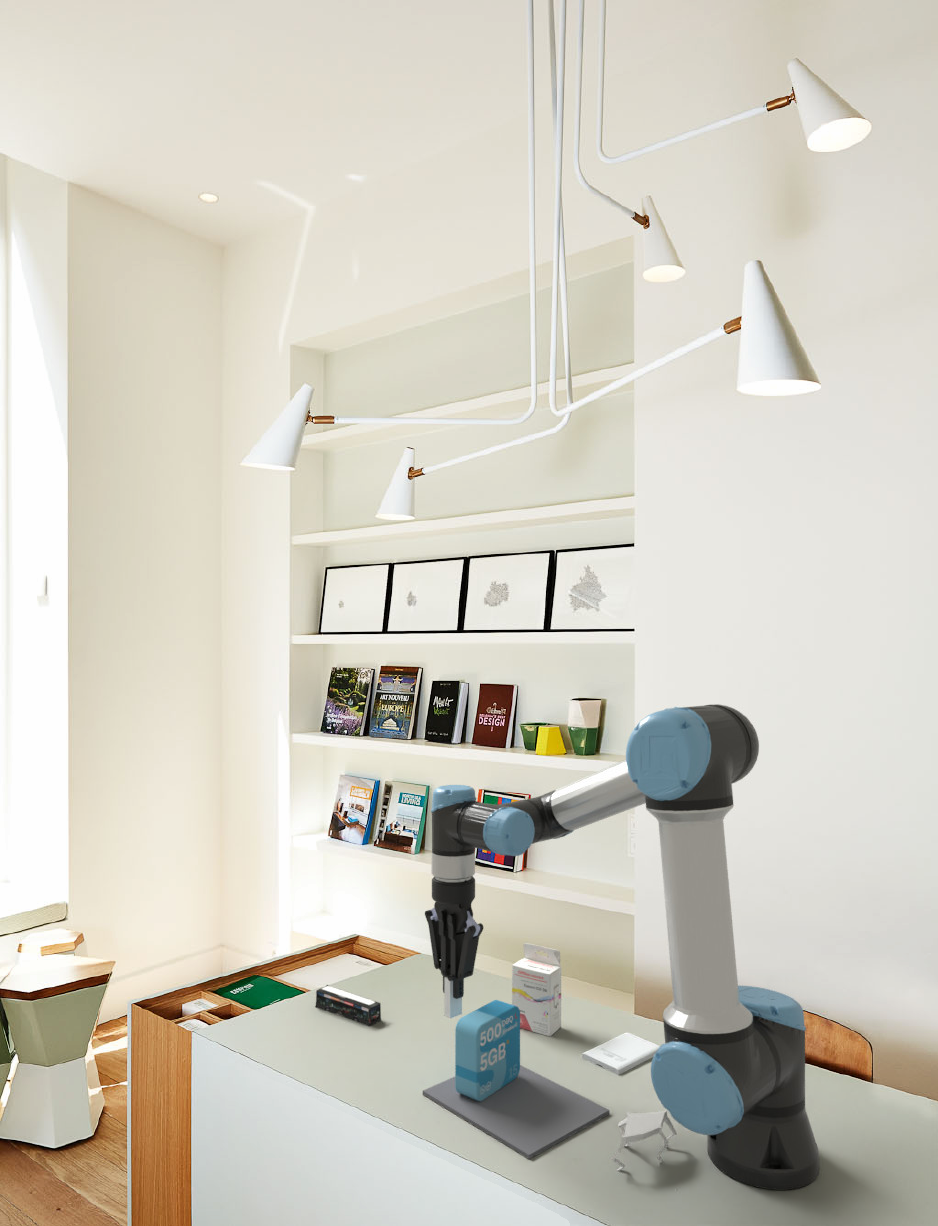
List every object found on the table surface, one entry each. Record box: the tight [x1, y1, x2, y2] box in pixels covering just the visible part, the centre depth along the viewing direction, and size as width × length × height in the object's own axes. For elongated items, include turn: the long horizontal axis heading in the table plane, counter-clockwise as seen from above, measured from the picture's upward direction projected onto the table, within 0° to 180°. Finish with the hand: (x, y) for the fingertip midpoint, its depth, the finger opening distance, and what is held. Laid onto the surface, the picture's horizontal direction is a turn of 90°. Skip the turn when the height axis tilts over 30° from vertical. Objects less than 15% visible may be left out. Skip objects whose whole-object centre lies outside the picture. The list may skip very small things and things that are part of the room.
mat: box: [422, 1064, 611, 1160], centre depth 140 cm, size 24×18×1 cm
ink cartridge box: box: [511, 942, 562, 1037], centre depth 168 cm, size 9×5×15 cm, turn 58°
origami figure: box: [610, 1110, 678, 1172], centre depth 126 cm, size 12×8×5 cm
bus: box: [314, 984, 382, 1027], centre depth 172 cm, size 14×25×4 cm, turn 53°
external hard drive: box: [581, 1032, 661, 1076], centre depth 157 cm, size 2×8×12 cm
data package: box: [454, 999, 521, 1101], centre depth 145 cm, size 12×4×12 cm, turn 141°
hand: (453, 1014), depth 151 cm, fingers closed
